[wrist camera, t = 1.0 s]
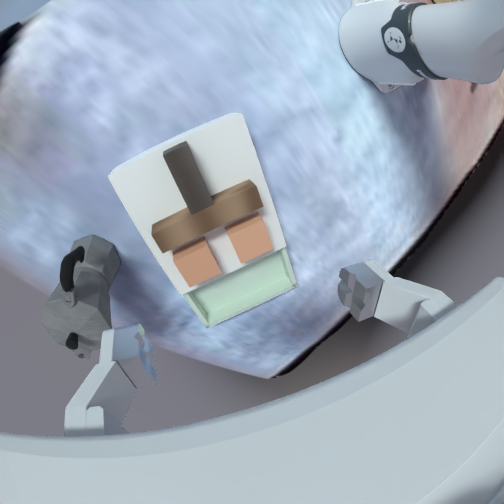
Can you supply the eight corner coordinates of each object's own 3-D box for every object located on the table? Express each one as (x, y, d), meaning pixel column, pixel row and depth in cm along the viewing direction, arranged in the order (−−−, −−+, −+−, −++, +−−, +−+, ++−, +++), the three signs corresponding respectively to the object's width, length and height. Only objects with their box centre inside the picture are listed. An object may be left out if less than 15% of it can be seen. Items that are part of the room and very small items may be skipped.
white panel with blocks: (233, 112, 34) (242, 113, 30) (276, 233, 46) (286, 246, 42) (113, 168, 33) (107, 176, 29) (178, 278, 45) (180, 295, 41)
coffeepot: (122, 294, 43) (116, 382, 29) (72, 290, 40) (50, 375, 25) (123, 210, 36) (102, 287, 22) (65, 206, 33) (16, 278, 18)
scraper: (228, 122, 30) (234, 124, 28) (256, 198, 37) (263, 206, 34) (123, 172, 30) (119, 178, 27) (162, 242, 36) (162, 253, 33)
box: (276, 233, 46) (284, 243, 43) (289, 275, 52) (297, 286, 49) (178, 278, 45) (180, 291, 42) (203, 315, 51) (206, 328, 48)
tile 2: (204, 236, 37) (207, 245, 35) (218, 263, 40) (221, 273, 38) (172, 252, 37) (173, 261, 35) (187, 277, 40) (189, 287, 38)
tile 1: (257, 212, 38) (263, 219, 36) (267, 240, 41) (273, 248, 39) (224, 227, 38) (228, 235, 36) (236, 254, 40) (241, 263, 38)
